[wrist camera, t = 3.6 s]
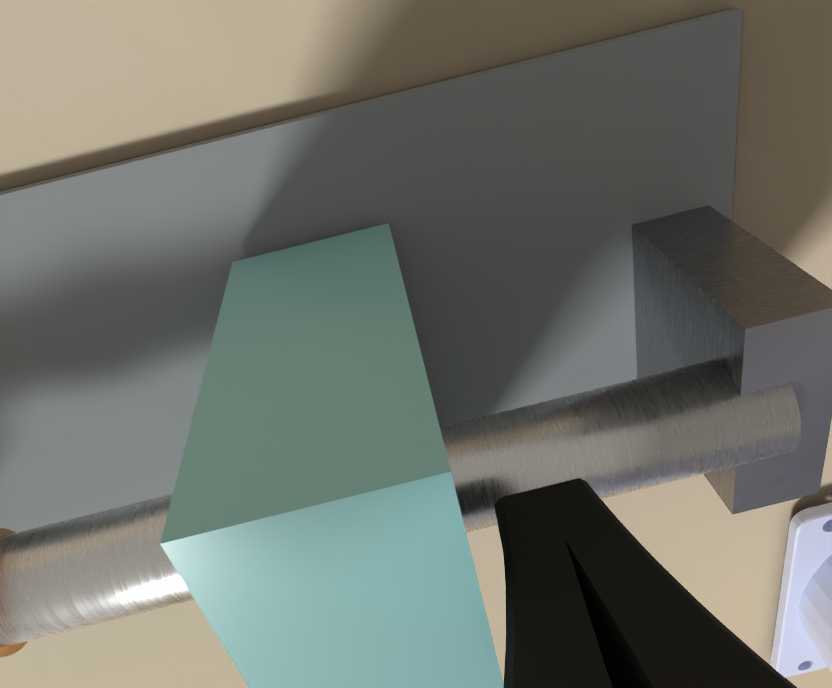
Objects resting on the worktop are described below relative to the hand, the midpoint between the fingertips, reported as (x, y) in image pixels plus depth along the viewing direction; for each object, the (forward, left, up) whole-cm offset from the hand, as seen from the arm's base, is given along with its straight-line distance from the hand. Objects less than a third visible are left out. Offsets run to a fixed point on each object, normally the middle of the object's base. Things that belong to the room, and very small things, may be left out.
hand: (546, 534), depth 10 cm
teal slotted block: (+3, 0, -6) cm, 6 cm away
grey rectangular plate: (+5, 0, -6) cm, 7 cm away
